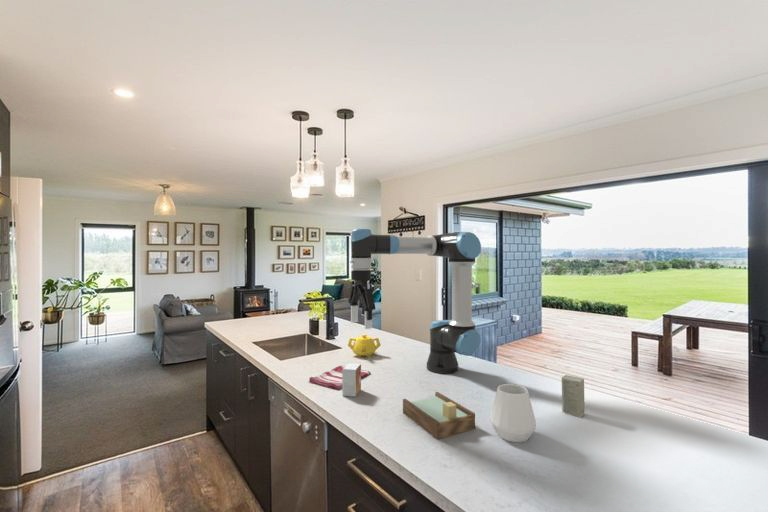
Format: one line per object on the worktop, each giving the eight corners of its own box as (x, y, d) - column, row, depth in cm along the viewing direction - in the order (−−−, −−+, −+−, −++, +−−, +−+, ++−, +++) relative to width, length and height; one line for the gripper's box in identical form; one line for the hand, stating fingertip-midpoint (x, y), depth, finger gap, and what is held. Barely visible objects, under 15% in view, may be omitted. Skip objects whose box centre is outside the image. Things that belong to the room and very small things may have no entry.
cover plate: (436, 398, 130) (436, 385, 130) (469, 418, 114) (469, 403, 114) (407, 404, 124) (407, 391, 124) (438, 426, 108) (438, 410, 108)
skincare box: (585, 413, 124) (585, 378, 124) (581, 418, 121) (581, 381, 121) (565, 408, 128) (565, 374, 128) (561, 412, 125) (561, 377, 125)
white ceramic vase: (531, 450, 101) (532, 401, 101) (484, 437, 108) (484, 391, 108) (539, 430, 112) (539, 386, 112) (496, 420, 119) (496, 378, 119)
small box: (355, 397, 138) (355, 370, 138) (342, 396, 139) (341, 369, 139) (361, 389, 146) (361, 363, 146) (348, 388, 147) (348, 362, 147)
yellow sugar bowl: (380, 360, 185) (380, 339, 185) (345, 360, 186) (345, 339, 186) (381, 350, 205) (381, 330, 205) (349, 350, 206) (349, 330, 206)
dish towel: (307, 383, 154) (307, 377, 154) (342, 368, 174) (342, 363, 174) (338, 391, 145) (338, 385, 145) (371, 375, 165) (371, 369, 165)
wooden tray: (437, 404, 131) (437, 391, 131) (475, 428, 114) (475, 413, 114) (402, 413, 125) (402, 399, 125) (437, 439, 107) (437, 423, 107)
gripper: (340, 268, 147) (340, 320, 147) (365, 271, 125) (365, 332, 125) (357, 268, 150) (357, 319, 150) (384, 270, 128) (384, 330, 128)
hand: (361, 325), depth 137 cm, fingers open, 13 cm apart
